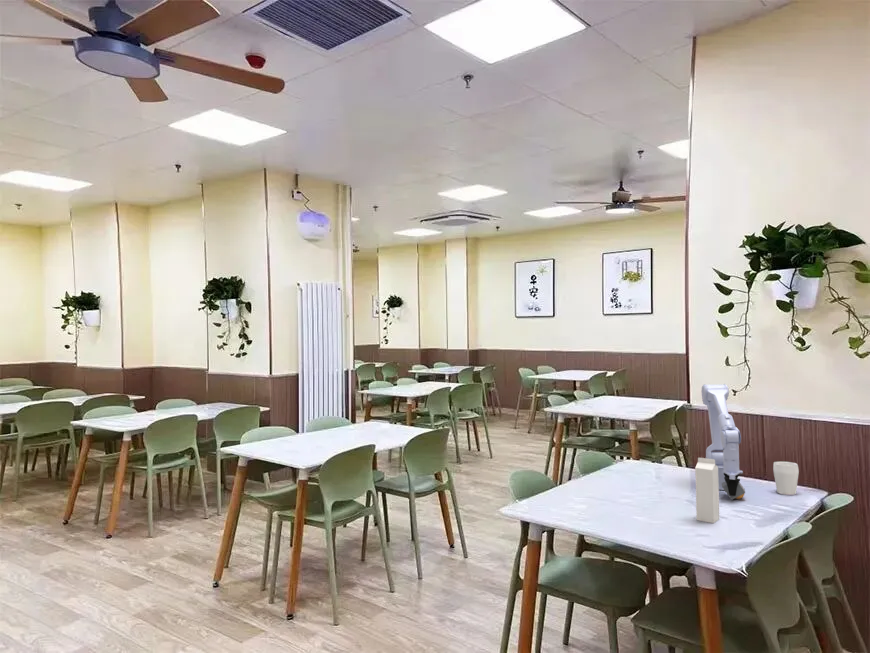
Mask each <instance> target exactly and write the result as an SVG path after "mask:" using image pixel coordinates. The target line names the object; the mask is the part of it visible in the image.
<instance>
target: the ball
mask: <svg viewBox="0 0 870 653" xmlns="http://www.w3.org/2000/svg"><path fill="white" fill-rule="evenodd" d="M744 496H745V493H744V494H742V495H740V496H739V497H737V498H735V499H737V500H741V499H742V498H744Z"/></svg>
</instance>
